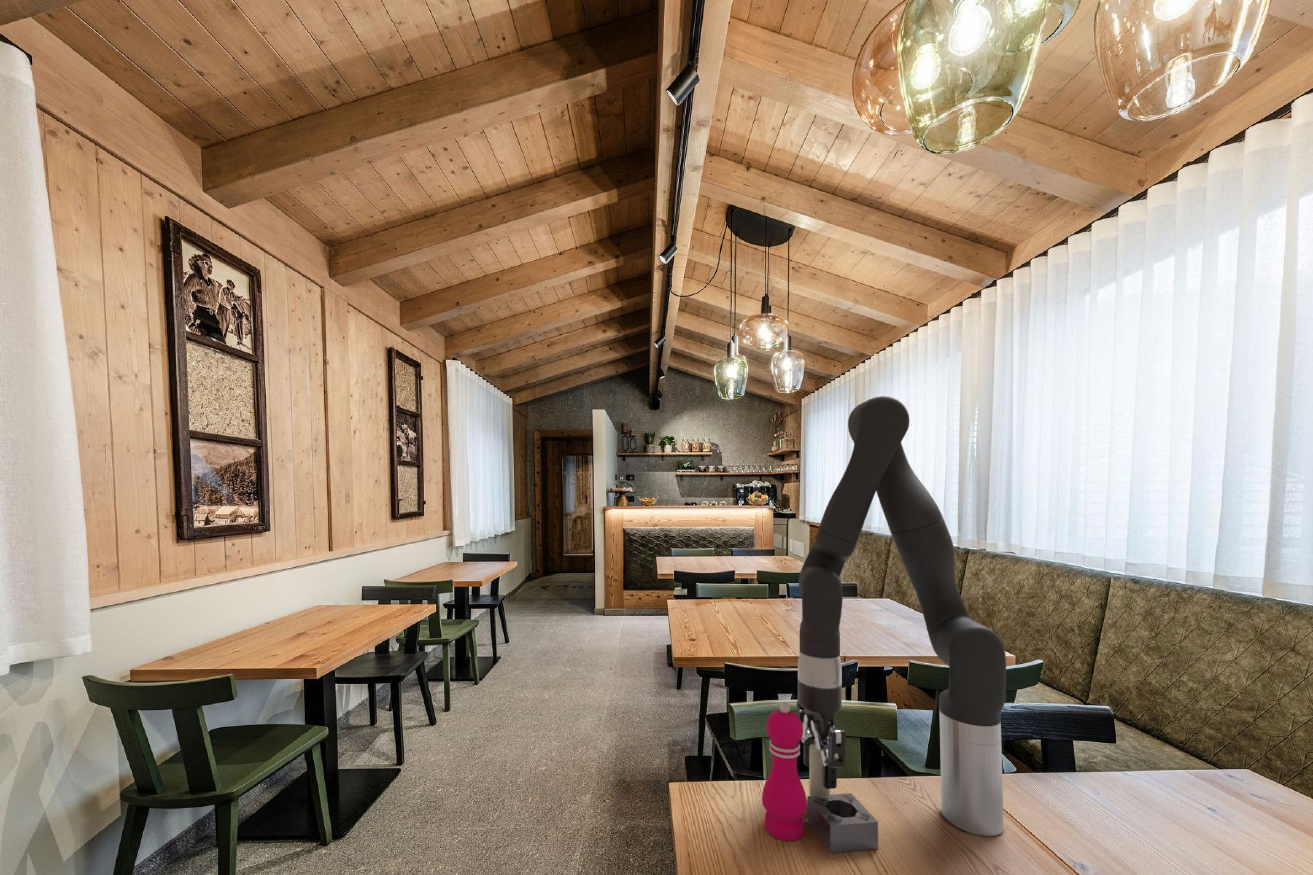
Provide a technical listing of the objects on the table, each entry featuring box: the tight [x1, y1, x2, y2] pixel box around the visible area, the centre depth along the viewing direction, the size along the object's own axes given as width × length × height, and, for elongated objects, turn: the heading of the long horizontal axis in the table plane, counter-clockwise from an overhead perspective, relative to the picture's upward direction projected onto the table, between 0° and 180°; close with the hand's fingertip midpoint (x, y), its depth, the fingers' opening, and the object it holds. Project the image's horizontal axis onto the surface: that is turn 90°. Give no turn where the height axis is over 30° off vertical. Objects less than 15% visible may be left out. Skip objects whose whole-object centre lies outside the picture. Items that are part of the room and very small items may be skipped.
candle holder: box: [806, 792, 879, 854], centre depth 88 cm, size 8×8×4 cm
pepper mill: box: [761, 701, 807, 842], centre depth 90 cm, size 7×7×20 cm
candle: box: [808, 742, 831, 796], centre depth 95 cm, size 4×4×10 cm
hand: (819, 775), depth 95 cm, fingers open, 7 cm apart
